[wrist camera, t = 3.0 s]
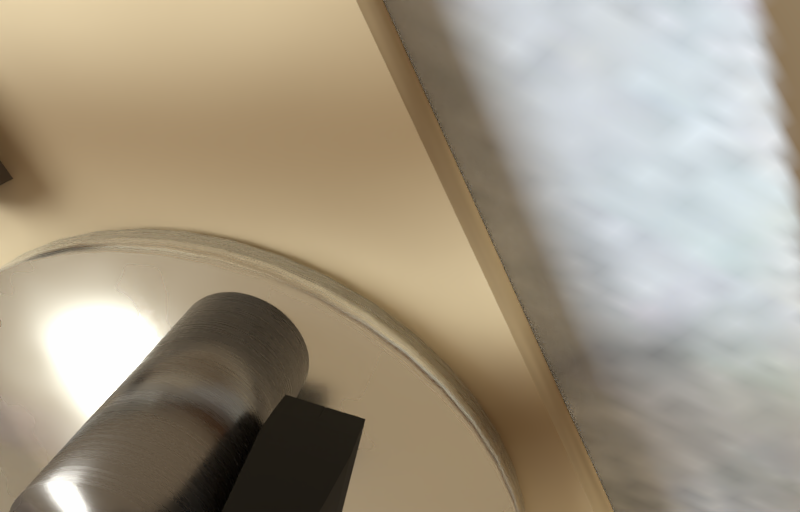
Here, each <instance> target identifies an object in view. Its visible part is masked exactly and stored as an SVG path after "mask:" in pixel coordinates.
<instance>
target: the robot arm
mask: <svg viewBox="0 0 800 512" xmlns="http://www.w3.org/2000/svg"><path fill="white" fill-rule="evenodd" d="M364 423H365V419H363V418H360V417H357V416H354V415H351V414H347V413H344V412H341V411H338V410H334V409H331V408H328V407H326V408H325V407H324V406H321V405H318V404H315V403H312V402H308V401H305V400H302V399H299V398H295V397H292V396H289V395H286V394H285V396H284V397H283V398H282V400H281V401H280V402H279V403H278V405H277V406H276V407H275V409H274V410H273V411H272V413H271V414H270V416H269V417H268V419H267V420H266V422H265V423H264V424H263V426H262V427H261V429H260V431H259V433H258V435H257V438H256V440H255V442H254V444H253V446H252V448H251V450H250V452H249V454H248V456H247V459H246V461H245V463H244V465H243V467H242V469H241V471H240V473H239V476H238V478H237V480H236V482H235V484H234V486H233V488H232V491H231V493H230V495H229V497H228V499H227V501H226V503H225V506H224V508H223V510H222V512H342V510H343V506H344V502H345V498H346V494H347V490H348V486H349V482H350V479H351V475H352V471H353V467H354V463H355V459H356V455H357V451H358V447H359V443H360V439H361V435H362V431H363V427H364Z"/></svg>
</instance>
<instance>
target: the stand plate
mask: <svg viewBox="0 0 800 512" xmlns="http://www.w3.org/2000/svg"><path fill="white" fill-rule="evenodd" d="M138 228H141V229H156V230H171V231H186V232H191V233H196V234H201V235H206V236H212V237H217V238H222V239H227V240H233V241H236V242H239V243H242V244H246V245H249V246H252V247H255V248H258V249H261V250H265V251H268V252H271V253H274V254H277V255H280V256H283V257H285V258H287V259H290V260H292V261H294V262H297V263H299V264H301V265H303V266H306V267H308V268H310V269H312V270H315V271H317V272H319V273H321V274H324V275H326V276H328V277H330V278H332V279H333V280H335V281H337V282H339V283H340V284H342V285H344V286H346V287H347V288H349V289H351V290H352V291H354V292H356V293H358V294H359V295H361V296H363V297H364V298H366V299H368V300H370V301H371V302H373V303H374V304H376V305H377V306H378V307H380V308H381V309H382V310H384V311H385V312H387V313H388V314H389V315H391V316H392V317H393V318H395V319H396V320H397V321H399V322H400V323H401V324H403V325H404V326H406V327H407V328H408V329H410V330H411V331H412V332H413V333H415V334H416V335H417V336H418V337H419V338H420V339H421V340H422V341H423V342H424V343H425V344H426V345H427V346H428V347H430V348H431V349H432V350H433V351H434V352H435V353H436V354H437V355H438V356H439V357H440V358H441V359H442V360H444V361H445V362H446V363H447V364H448V365H449V367H450V368H451V369H452V370H453V371H454V372H455V374H456V375H457V376H458V377H459V378H460V380H461V381H462V382H463V383H464V384H465V386H466V387H467V388H468V389H469V390H470V391H471V393H472V394H473V395H474V396H475V397H476V399H477V400H478V402H479V403H480V405H481V406H482V408H483V409H484V411H485V413H486V414H487V416H488V417H489V419H490V420H491V422H492V424H493V425H494V427H495V428H496V430H497V431H498V433H499V435H500V437H501V439H502V441H503V443H504V446H505V448H506V450H507V452H508V454H509V457H510V459H511V461H512V463H513V466H514V468H515V470H516V474H517V478H518V481H519V485H520V489H521V492H522V496H523V500H524V503H525V512H614V511H613V509H612V506H611V504H610V502H609V500H608V498H607V495H606V493H605V491H604V489H603V486H602V484H601V482H600V480H599V478H598V475H597V473H596V471H595V469H594V467H593V464H592V462H591V460H590V458H589V456H588V453H587V451H586V449H585V447H584V444H583V442H582V440H581V438H580V436H579V433H578V431H577V429H576V427H575V425H574V422H573V420H572V418H571V416H570V413H569V411H568V409H567V407H566V405H565V402H564V400H563V398H562V396H561V394H560V391H559V389H558V387H557V385H556V382H555V380H554V378H553V376H552V374H551V371H550V369H549V367H548V365H547V363H546V360H545V358H544V356H543V354H542V352H541V349H540V347H539V345H538V343H537V340H536V338H535V336H534V334H533V332H532V329H531V327H530V325H529V323H528V321H527V318H526V316H525V314H524V312H523V309H522V307H521V305H520V303H519V301H518V298H517V296H516V294H515V292H514V290H513V287H512V285H511V283H510V281H509V279H508V276H507V274H506V272H505V270H504V267H503V265H502V263H501V261H500V259H499V256H498V254H497V252H496V250H495V248H494V245H493V243H492V241H491V239H490V236H489V234H488V232H487V230H486V228H485V225H484V223H483V221H482V219H481V217H480V214H479V212H478V210H477V208H476V205H475V203H474V201H473V199H472V197H471V194H470V192H469V190H468V188H467V186H466V183H465V181H464V179H463V177H462V175H461V172H460V170H459V168H458V166H457V163H456V161H455V159H454V157H453V155H452V152H451V150H450V148H449V146H448V144H447V141H446V139H445V137H444V135H443V132H442V130H441V128H440V126H439V124H438V121H437V119H436V117H435V115H434V113H433V110H432V108H431V106H430V104H429V102H428V99H427V97H426V95H425V93H424V90H423V88H422V86H421V84H420V82H419V79H418V77H417V75H416V73H415V71H414V68H413V66H412V64H411V62H410V59H409V57H408V55H407V53H406V51H405V48H404V46H403V44H402V42H401V40H400V37H399V35H398V33H397V31H396V28H395V26H394V24H393V22H392V20H391V17H390V15H389V13H388V11H387V9H386V6H385V4H384V2H383V0H0V268H1V267H2V266H4V265H6V264H7V263H9V262H10V261H12V260H14V259H15V258H17V257H18V256H20V255H22V254H23V253H25V252H28V251H30V250H33V249H35V248H38V247H40V246H43V245H45V244H48V243H51V242H53V241H56V240H58V239H63V238H68V237H72V236H77V235H81V234H86V233H91V232H95V231H107V230H122V229H138Z"/></svg>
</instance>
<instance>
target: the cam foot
mask: <svg viewBox="0 0 800 512" xmlns="http://www.w3.org/2000/svg"><path fill="white" fill-rule="evenodd" d="M285 394H286V395H289V396H292V397H295V398H299V399H302V400H305V401H308V402H312V403H315V404H318V405H321V406H324V407H325V408H326V407H328V408H331V409H334V410H338V411H341V412H344V413H347V414H351V415H354V416H357V417H360V418H363V419H365V423H364V427H363V431H362V435H361V439H360V443H359V447H358V451H357V455H356V459H355V463H354V467H353V471H352V475H351V479H350V482H349V486H348V490H347V494H346V498H345V502H344V506H343V510H342V512H525V503H524V500H523V496H522V492H521V489H520V485H519V481H518V478H517V474H516V470H515V468H514V466H513V463H512V461H511V459H510V457H509V454H508V452H507V450H506V448H505V446H504V443H503V441H502V439H501V437H500V435H499V433H498V431H497V430H496V428H495V427H494V425H493V424H492V422H491V420H490V419H489V417H488V416H487V414H486V413H485V411H484V409H483V408H482V406H481V405H480V403H479V402H478V400H477V399H476V397H475V396H474V395H473V394H472V393H471V391H470V390H469V389H468V388H467V387H466V386H465V384H464V383H463V382H462V381H461V380H460V378H459V377H458V376H457V375H456V374H455V372H454V371H453V370H452V369H451V368H450V367H449V365H448V364H447V363H446V362H445V361H444V360H442V359H441V358H440V357H439V356H438V355H437V354H436V353H435V352H434V351H433V350H432V349H431V348H430V347H428V346H427V345H426V344H425V343H424V342H423V341H422V340H421V339H420V338H419V337H418V336H417V335H416V334H415V333H413V332H412V331H411V330H410V329H408V328H407V327H406V326H404V325H403V324H401V323H400V322H399V321H397V320H396V319H395V318H393V317H392V316H391V315H389V314H388V313H387V312H385V311H384V310H382V309H381V308H380V307H378V306H377V305H376V304H374V303H373V302H371V301H370V300H368V299H366V298H364V297H363V296H361V295H359V294H358V293H356V292H354V291H352V290H351V289H349V288H347V287H346V286H344V285H342V284H340V283H339V282H337V281H335V280H333V279H332V278H330V277H328V276H326V275H324V274H321V273H319V272H317V271H315V270H312V269H310V268H308V267H306V266H303V265H301V264H299V263H297V262H294V261H292V260H290V259H287V258H285V257H283V256H280V255H277V254H274V253H271V252H268V251H265V250H261V249H258V248H255V247H252V246H249V245H246V244H242V243H239V242H236V241H233V240H227V239H222V238H217V237H212V236H206V235H201V234H196V233H191V232H186V231H171V230H156V229H141V228H138V229H122V230H107V231H95V232H91V233H86V234H81V235H77V236H72V237H68V238H63V239H58V240H56V241H53V242H51V243H48V244H45V245H43V246H40V247H38V248H35V249H33V250H30V251H28V252H25V253H23V254H22V255H20V256H18V257H17V258H15V259H14V260H12V261H10V262H9V263H7V264H6V265H4V266H2V267H1V268H0V512H222V510H223V508H224V506H225V503H226V501H227V499H228V497H229V495H230V493H231V491H232V488H233V486H234V484H235V482H236V480H237V478H238V476H239V473H240V471H241V469H242V467H243V465H244V463H245V461H246V459H247V456H248V454H249V452H250V450H251V448H252V446H253V444H254V442H255V440H256V438H257V435H258V433H259V431H260V429H261V427H262V426H263V424H264V423H265V422H266V420H267V419H268V417H269V416H270V414H271V413H272V411H273V410H274V409H275V407H276V406H277V405H278V403H279V402H280V401H281V400H282V398H283V397H284V396H285Z"/></svg>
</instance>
